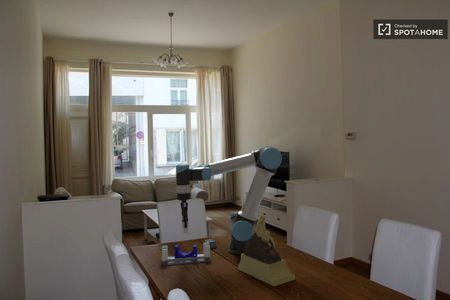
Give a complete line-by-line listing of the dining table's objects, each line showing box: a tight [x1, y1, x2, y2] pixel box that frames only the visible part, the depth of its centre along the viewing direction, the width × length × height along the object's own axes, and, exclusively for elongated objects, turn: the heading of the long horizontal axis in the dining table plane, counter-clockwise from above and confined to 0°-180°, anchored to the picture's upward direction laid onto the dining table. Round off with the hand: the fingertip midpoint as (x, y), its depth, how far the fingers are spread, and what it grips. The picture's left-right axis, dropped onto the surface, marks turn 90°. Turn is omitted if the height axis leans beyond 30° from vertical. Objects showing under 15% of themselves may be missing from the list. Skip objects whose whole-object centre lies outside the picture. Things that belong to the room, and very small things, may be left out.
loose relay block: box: [203, 238, 217, 250], centre depth 238 cm, size 5×6×4 cm
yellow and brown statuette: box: [237, 214, 296, 287], centre depth 188 cm, size 28×13×30 cm, turn 33°
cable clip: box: [173, 244, 198, 258], centre depth 214 cm, size 12×4×6 cm, turn 83°
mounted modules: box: [161, 242, 211, 262], centre depth 214 cm, size 26×7×6 cm, turn 99°
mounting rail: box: [162, 253, 212, 267], centre depth 214 cm, size 26×12×2 cm, turn 99°
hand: (185, 230), depth 214 cm, fingers open, 13 cm apart
